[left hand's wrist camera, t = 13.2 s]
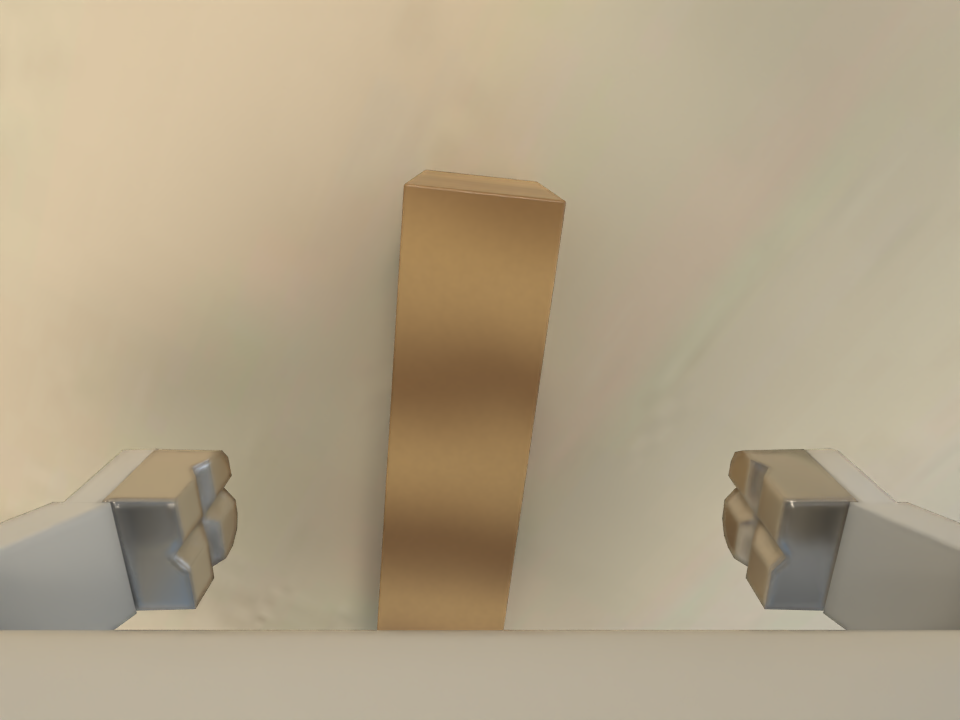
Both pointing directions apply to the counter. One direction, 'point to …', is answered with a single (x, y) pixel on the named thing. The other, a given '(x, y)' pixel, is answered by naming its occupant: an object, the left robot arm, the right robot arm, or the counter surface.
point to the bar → (463, 394)
